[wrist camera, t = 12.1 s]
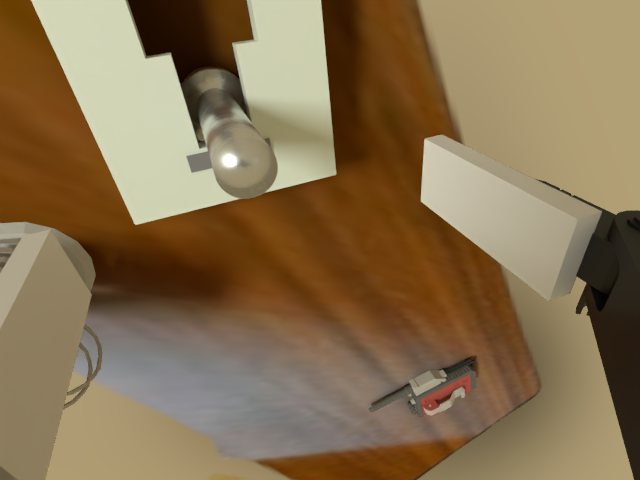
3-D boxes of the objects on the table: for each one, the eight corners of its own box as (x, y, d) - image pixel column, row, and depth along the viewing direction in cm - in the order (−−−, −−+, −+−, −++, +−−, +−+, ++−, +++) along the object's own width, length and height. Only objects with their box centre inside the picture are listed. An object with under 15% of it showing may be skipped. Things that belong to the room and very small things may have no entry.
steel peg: (167, 72, 27) (167, 123, 15) (240, 60, 28) (293, 98, 16) (190, 144, 30) (204, 233, 18) (255, 130, 31) (308, 205, 20)
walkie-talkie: (469, 345, 62) (364, 399, 60) (487, 366, 59) (376, 424, 56) (470, 374, 67) (373, 424, 65) (487, 394, 64) (385, 448, 61)
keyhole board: (-3, -131, 20) (-49, -168, 16) (281, -144, 23) (306, -177, 19) (139, 197, 31) (135, 226, 27) (317, 155, 35) (337, 175, 30)
